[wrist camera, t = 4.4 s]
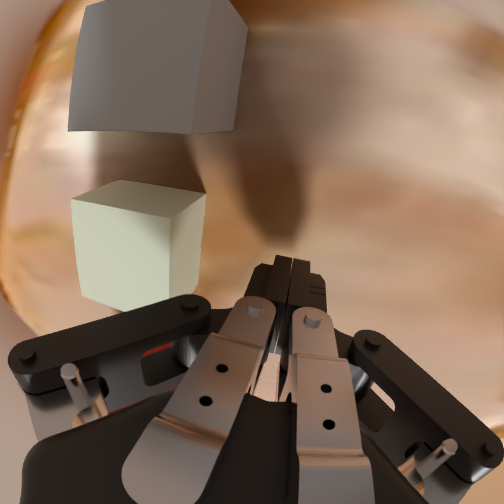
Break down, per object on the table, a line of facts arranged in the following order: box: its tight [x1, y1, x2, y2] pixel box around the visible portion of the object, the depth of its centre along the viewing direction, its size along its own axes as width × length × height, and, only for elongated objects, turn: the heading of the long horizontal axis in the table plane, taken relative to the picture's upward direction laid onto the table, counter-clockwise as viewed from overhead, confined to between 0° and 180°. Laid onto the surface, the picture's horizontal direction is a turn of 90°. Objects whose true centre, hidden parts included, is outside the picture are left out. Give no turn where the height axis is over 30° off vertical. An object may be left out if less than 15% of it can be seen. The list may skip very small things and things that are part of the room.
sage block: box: [71, 179, 206, 312], centre depth 13 cm, size 5×5×4 cm
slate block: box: [68, 0, 248, 134], centre depth 9 cm, size 5×5×5 cm
